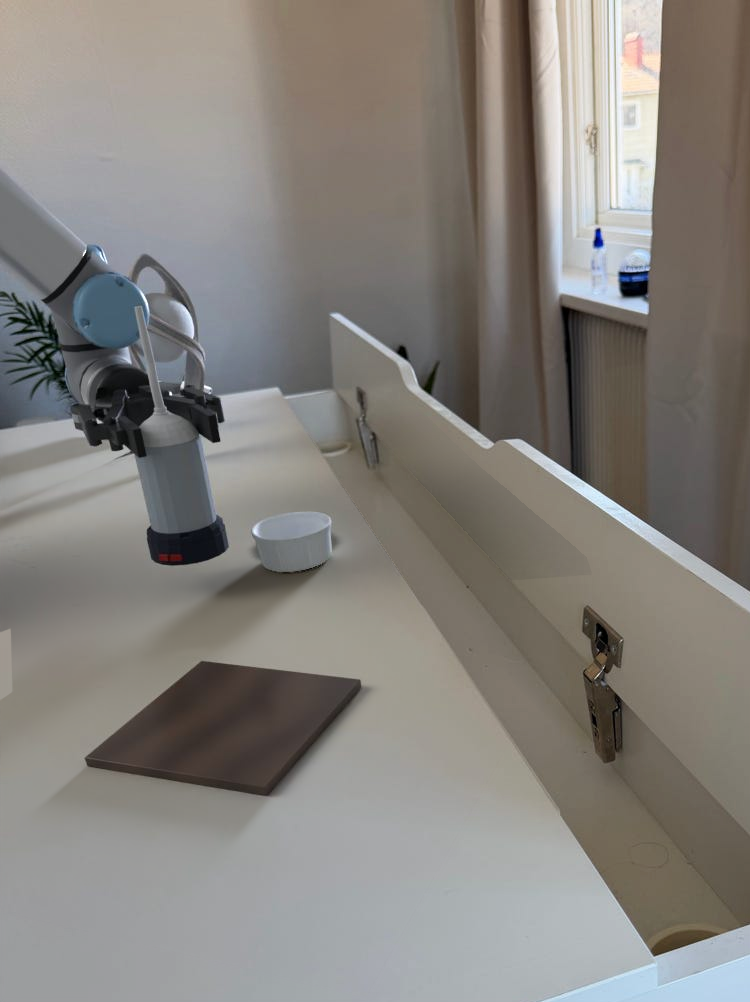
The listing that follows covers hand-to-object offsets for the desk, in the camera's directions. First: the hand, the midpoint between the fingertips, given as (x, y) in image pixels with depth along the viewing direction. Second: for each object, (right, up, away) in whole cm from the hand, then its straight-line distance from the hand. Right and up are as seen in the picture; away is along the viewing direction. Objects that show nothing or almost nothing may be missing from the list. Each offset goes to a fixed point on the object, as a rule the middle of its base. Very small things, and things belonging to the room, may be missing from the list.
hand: (177, 435), depth 94 cm
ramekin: (+8, -11, +17) cm, 22 cm away
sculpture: (-16, +8, +57) cm, 60 cm away
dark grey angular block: (-24, +16, +74) cm, 79 cm away
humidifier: (-2, -10, +10) cm, 15 cm away
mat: (+9, -27, -15) cm, 32 cm away
